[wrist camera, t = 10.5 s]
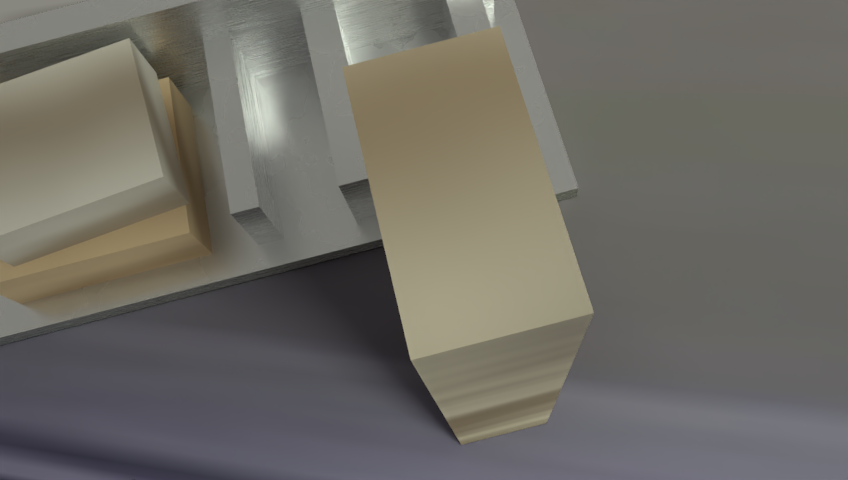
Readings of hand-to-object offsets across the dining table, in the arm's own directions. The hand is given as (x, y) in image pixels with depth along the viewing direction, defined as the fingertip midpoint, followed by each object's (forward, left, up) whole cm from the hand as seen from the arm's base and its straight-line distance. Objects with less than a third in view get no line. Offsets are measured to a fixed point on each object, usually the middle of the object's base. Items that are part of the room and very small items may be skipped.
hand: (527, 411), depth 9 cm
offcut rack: (+7, +10, -13) cm, 18 cm away
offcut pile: (+4, +14, -12) cm, 19 cm away
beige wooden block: (+3, +2, -13) cm, 13 cm away
